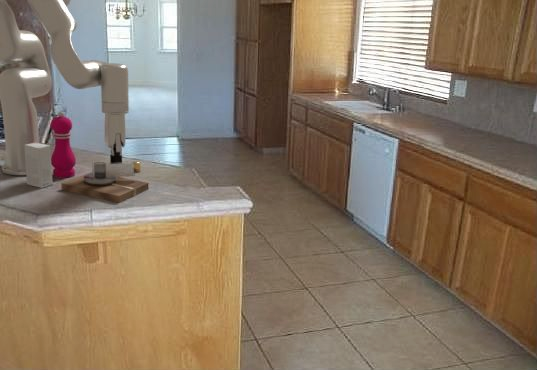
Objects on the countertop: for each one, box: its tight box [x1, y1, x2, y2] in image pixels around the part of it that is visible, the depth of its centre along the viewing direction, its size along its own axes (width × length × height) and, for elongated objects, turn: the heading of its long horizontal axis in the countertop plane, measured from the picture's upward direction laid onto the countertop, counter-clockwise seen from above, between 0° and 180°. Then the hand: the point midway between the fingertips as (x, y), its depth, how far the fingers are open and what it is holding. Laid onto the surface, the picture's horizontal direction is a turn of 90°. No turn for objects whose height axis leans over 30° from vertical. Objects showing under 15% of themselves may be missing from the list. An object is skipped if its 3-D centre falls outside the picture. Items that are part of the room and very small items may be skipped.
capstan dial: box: [84, 160, 141, 186], centre depth 153 cm, size 16×9×5 cm, turn 114°
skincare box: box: [24, 142, 53, 189], centre depth 150 cm, size 6×4×12 cm
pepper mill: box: [50, 111, 77, 179], centre depth 159 cm, size 7×7×20 cm
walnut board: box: [61, 171, 150, 204], centre depth 152 cm, size 20×14×2 cm
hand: (116, 167), depth 156 cm, fingers closed
